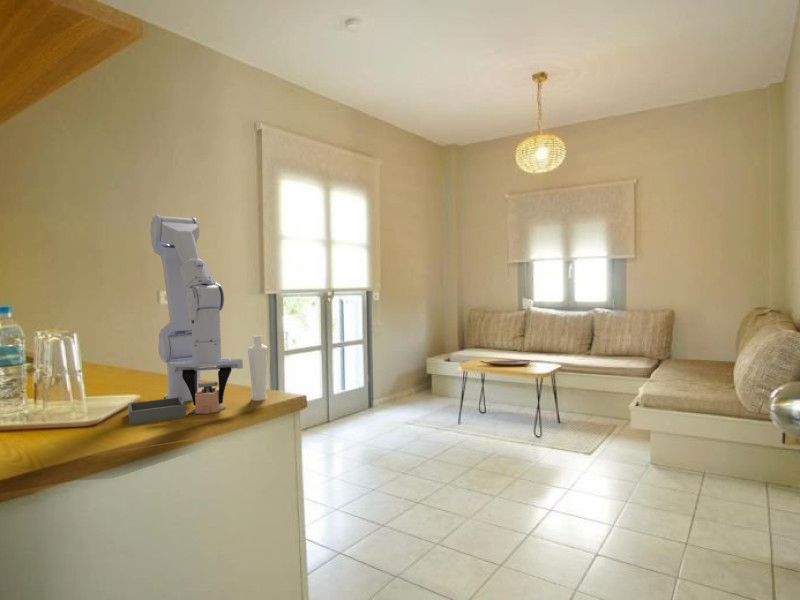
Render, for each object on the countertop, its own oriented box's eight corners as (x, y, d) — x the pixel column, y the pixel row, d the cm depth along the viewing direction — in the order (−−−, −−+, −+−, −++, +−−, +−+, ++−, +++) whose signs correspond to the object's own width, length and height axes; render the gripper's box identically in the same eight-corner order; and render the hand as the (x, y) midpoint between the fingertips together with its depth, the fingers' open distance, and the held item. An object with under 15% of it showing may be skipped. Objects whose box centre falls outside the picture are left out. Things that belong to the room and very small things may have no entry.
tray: (128, 415, 103) (127, 403, 103) (181, 408, 108) (180, 396, 108) (129, 425, 95) (128, 412, 95) (186, 417, 101) (185, 404, 100)
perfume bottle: (251, 397, 118) (249, 335, 117) (269, 396, 118) (268, 334, 118) (247, 402, 113) (245, 337, 113) (266, 401, 114) (265, 336, 113)
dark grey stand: (189, 409, 107) (188, 382, 107) (222, 405, 111) (221, 378, 111) (193, 416, 101) (192, 387, 101) (228, 411, 105) (227, 383, 104)
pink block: (199, 406, 108) (198, 388, 108) (220, 404, 110) (220, 386, 110) (195, 414, 102) (194, 395, 101) (218, 412, 103) (217, 393, 103)
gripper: (166, 344, 100) (168, 410, 100) (241, 341, 104) (243, 404, 104) (172, 340, 106) (174, 403, 107) (242, 337, 110) (244, 397, 111)
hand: (208, 403), depth 106 cm, fingers closed on pink block, 4 cm apart
